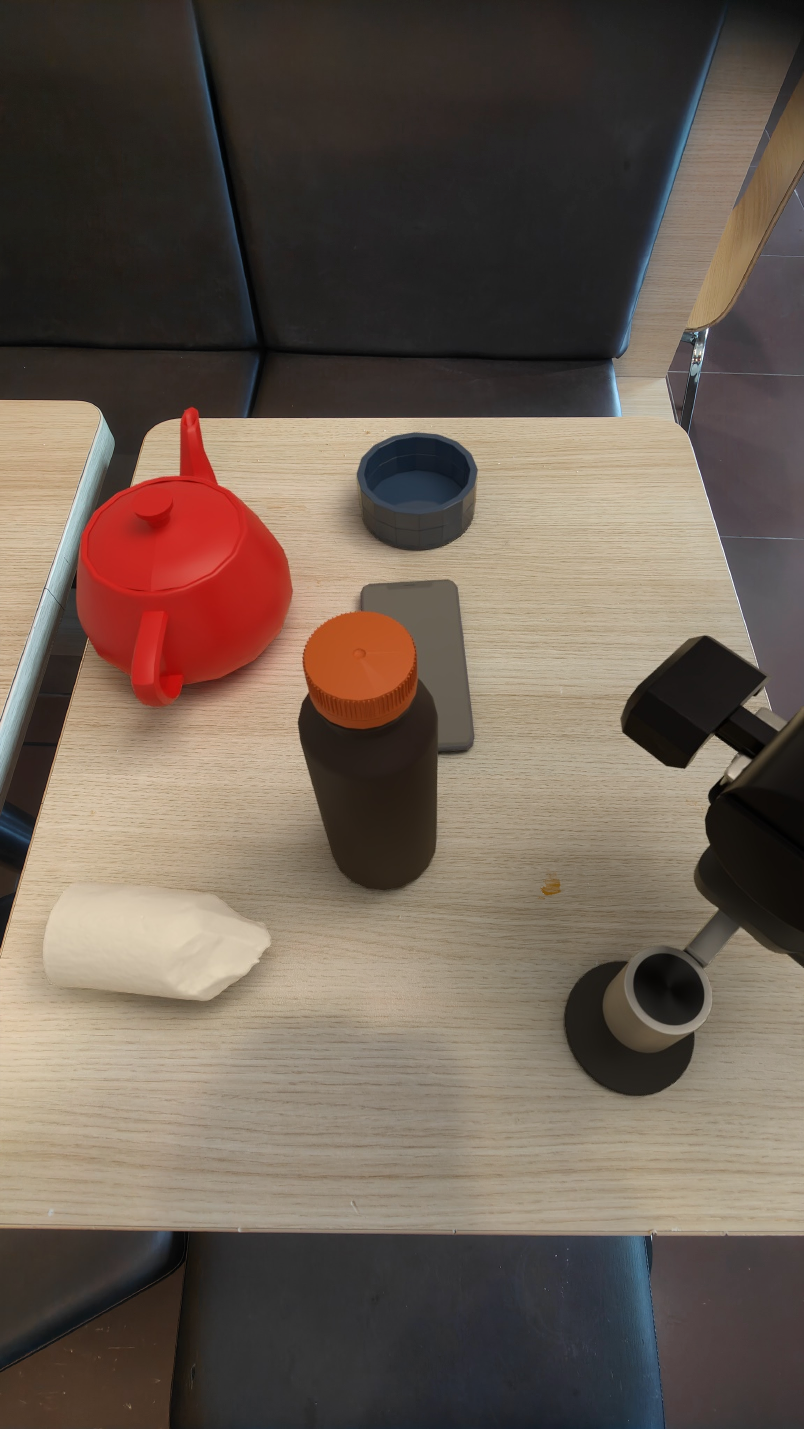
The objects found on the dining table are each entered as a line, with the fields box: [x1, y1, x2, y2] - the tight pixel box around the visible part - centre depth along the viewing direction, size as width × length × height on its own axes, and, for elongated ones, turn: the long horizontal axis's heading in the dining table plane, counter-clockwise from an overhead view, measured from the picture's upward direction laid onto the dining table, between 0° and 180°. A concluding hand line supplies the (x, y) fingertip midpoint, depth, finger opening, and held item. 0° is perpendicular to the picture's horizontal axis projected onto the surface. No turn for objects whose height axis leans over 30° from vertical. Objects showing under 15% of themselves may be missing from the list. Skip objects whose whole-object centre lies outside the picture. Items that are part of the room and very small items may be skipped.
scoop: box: [603, 908, 741, 1053], centre depth 40 cm, size 15×4×6 cm, turn 133°
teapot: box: [75, 406, 294, 708], centre depth 56 cm, size 25×16×12 cm, turn 0°
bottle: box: [297, 610, 439, 892], centre depth 42 cm, size 7×7×20 cm
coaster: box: [563, 960, 695, 1097], centre depth 43 cm, size 7×7×1 cm
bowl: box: [356, 431, 479, 551], centre depth 65 cm, size 10×10×4 cm
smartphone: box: [359, 578, 476, 752], centre depth 57 cm, size 8×1×15 cm
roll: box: [41, 879, 272, 1002], centre depth 44 cm, size 6×12×6 cm, turn 84°
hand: (765, 872), depth 41 cm, fingers closed on scoop
